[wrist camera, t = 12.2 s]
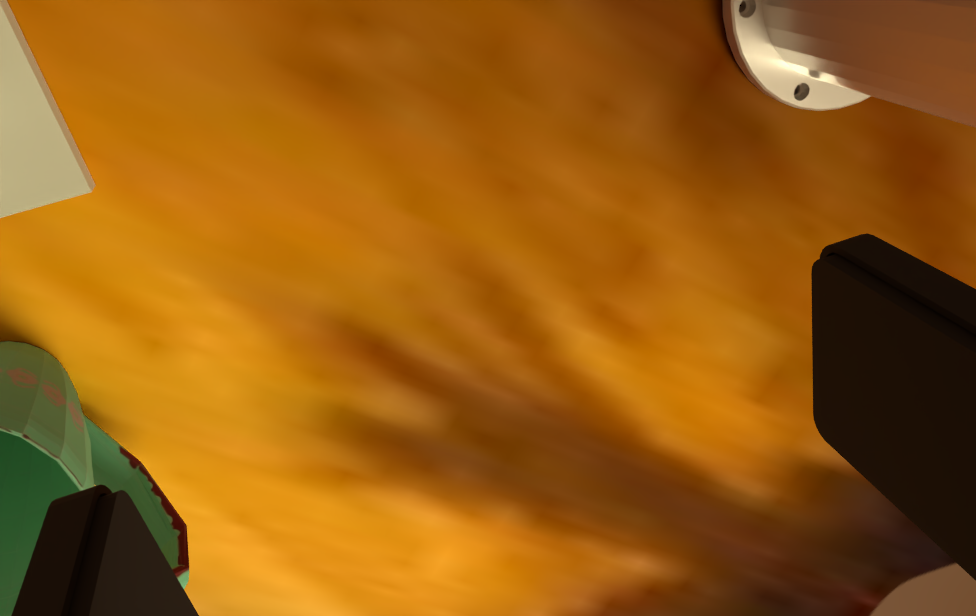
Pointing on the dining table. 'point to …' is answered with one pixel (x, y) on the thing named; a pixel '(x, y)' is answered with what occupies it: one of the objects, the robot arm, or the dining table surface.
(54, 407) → the mug
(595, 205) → the dining table surface
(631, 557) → the dining table surface
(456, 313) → the dining table surface
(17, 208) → the square base peg stand
